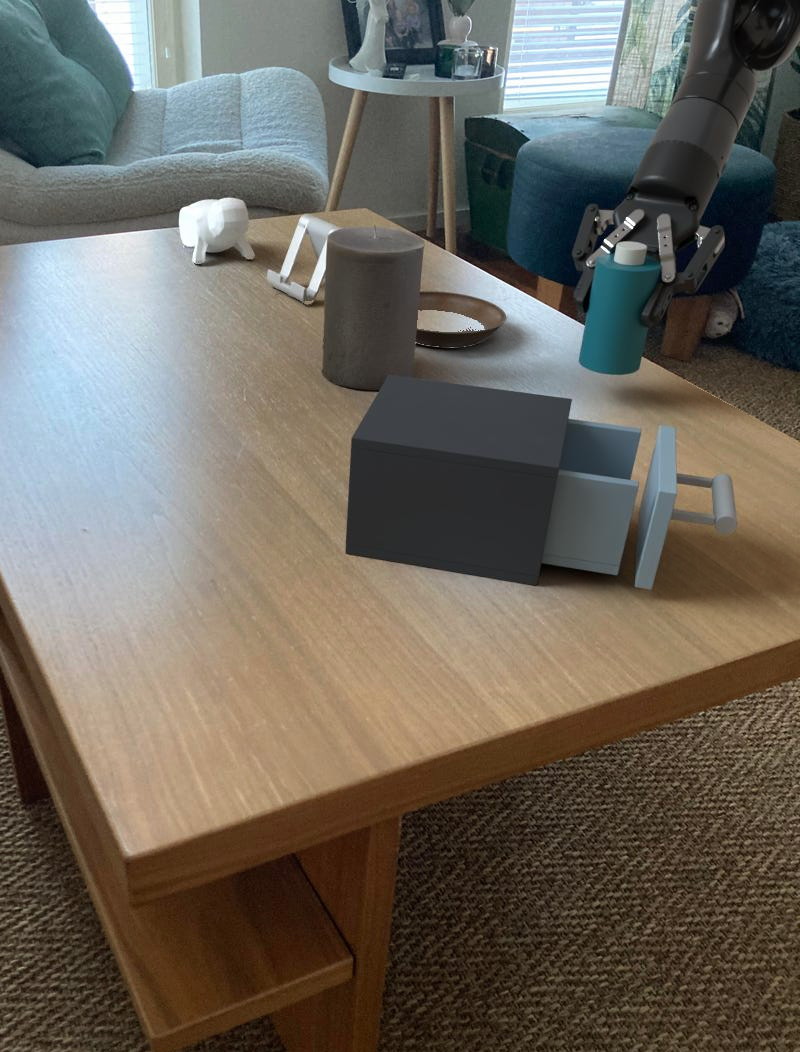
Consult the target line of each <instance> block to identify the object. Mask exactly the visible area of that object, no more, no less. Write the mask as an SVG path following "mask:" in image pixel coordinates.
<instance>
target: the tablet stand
mask: <svg viewBox="0 0 800 1052" xmlns="http://www.w3.org/2000/svg"><path fill="white" fill-rule="evenodd" d="M338 229H344V228H342V227H340V226H338V225H336V224H333V223H332V222H329V221H327V220H324V219H322V218H320V217H316V216H314V215H312V214H311V213H303V214H302V215H301V216H300V217H299V219H298V223H297V226H296V227H295V231H294V234H293V236H292V239H291V242H290V244H289V247H288V250H287V252H286V256H285V259H284V261H283V264H282V266H281V269H280V272H279V273H277V272H276V271H274V270H273V269H268V270H267V274H266V283H267V284H268V285H269V284H270V285H272V286H274V287H275V288H277V289H279V290H281V291H283V292H285V293H287V294H289V295H291V296H293V297H295V298H296V299H298V300H300V301H302V302H303V303H304V302H305V300H306V301H312V300H315V301H316V299H317V296H318V294H319V291H320V289H321V286H322V283H323V281H324V278H325V272H326V249H327V238H328V235H329V234H330V233H332V232H333V231H336V230H338ZM307 235H308V236H309V239H310V242H311V245H312V248H313V252H314V254H315V257H316V260H317V263H316V265H315V269H314V271H313V274H312V276H311V279H310V281H309V284H308V286H307V287H304V286H302V285H301V284H299V283H297V282H295V281H293V280H292V281H290V284H289V280H290V277H291V275H292V271H293V269H294V266H295V264H296V261H297V258H298V256H299V253H300V250H301V247H302V244H303V242H304V239H305V237H306V236H307ZM270 285H269V286H270ZM272 286H271V287H272ZM277 289H276V290H277ZM279 290H278V291H279ZM281 291H280V292H281ZM283 292H282V293H283ZM285 293H284V294H285ZM287 294H286V295H287ZM296 299H295V300H296ZM298 300H297V301H298ZM303 303H301V304H302V305H304V304H303ZM312 305H313V304H310V305H307V307H309V306H312Z"/></svg>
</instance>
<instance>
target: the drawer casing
mask: <svg viewBox="0 0 800 1052" xmlns="http://www.w3.org/2000/svg"><path fill="white" fill-rule="evenodd" d="M572 403H573V398H569V397H560V396H553V395H546V394H538V393H532V392H524V391H516V390H508V389H501V388H493V387H486V386H479V385H471V384H465V383H464V384H463V383H455V382H448V381H442V380H441V381H440V380H432V379H425V378H419V377H412V378H411V377H404V376H396V375H388V377H387V379H386V380H385V382H384V384H383V386H382V387H381V389H380V390H378V392H377V394H376V395H375V397H374V399H373V401H372V402H371V404H370V405H369V407H368V409H367V410H366V412H365V414H364V415H363V418H362V419H361V421H360V422H359V424H358V426H357V427H356V429H355V430H354V433H353V434H352V436H351V439H350V440H351V441H350V457H349V475H348V476H349V477H348V493H347V510H346V511H347V512H346V513H347V514H346V528H345V529H346V531H345V549H344V550H345V551H344V552H345V554H348V555H354V556H359V557H365V558H371V559H376V560H377V559H378V560H383V561H387V562H388V561H389V562H395V563H400V564H407V565H413V566H417V567H425V568H430V569H436V570H443V571H449V572H454V573H459V574H466V575H471V576H479V577H483V578H489V579H495V580H501V581H507V582H513V583H518V584H519V583H520V584H524V585H530V586H531V585H532V586H538V583H539V579H540V578H539V577H540V573H541V569H542V568H541V567H542V563H541V562H542V557H543V552H544V546H545V541H546V535H547V530H548V525H549V519H550V514H551V509H552V503H553V498H554V492H555V487H556V482H557V476H558V471H559V466H560V460H561V455H562V450H563V445H564V439H565V434H566V429H567V424H568V419H570V414H571V413H570V412H571V407H572Z"/></svg>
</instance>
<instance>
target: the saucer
mask: <svg viewBox="0 0 800 1052" xmlns="http://www.w3.org/2000/svg"><path fill="white" fill-rule="evenodd" d="M419 310H420V311H422V310H437V311H445V312H453V313H457V314H461V315H464V316H466V317H469V318H472V319H474V320H477V321H478V322H479V323H481V325H483V326H484V329H485V330H480V331H479V330H478V331H474V330H473V329H472V331H471V330H470V329H469V328H468V329H469V331H468V330H467V329H466V331H464V330H463V331H462V332H459V331H458V332H439V331H430V330H424V329H418V328H417V332H416V342H417V343H420V344H424V345H430V346H439V347H459V348H465V347H464V346H467V347H471V346H470V345H472V346H474V344H475V345H478V344H480V343H482V342H484V341H486V340H487V339H488V338H490V337H491V336H492V335H494V334H495V333H496V332H497V331H498V330H500V328H501V327H502V326H503V325H504V323H505V322H506V320H507V314H506V312H505V311H504V309H502V308H501V307H499V306H498V305H496V304H495V303H493V302H491V301H488V300H486V299H482V298H479V297H476V296H472V295H468V294H463V293H457V292H450V291H435V290H422V291H421V290H420V296H419ZM470 328H471V327H470ZM475 330H476V329H475ZM460 331H461V330H460ZM477 343H478V344H477ZM436 348H437V349H439V348H438V347H436Z"/></svg>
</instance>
